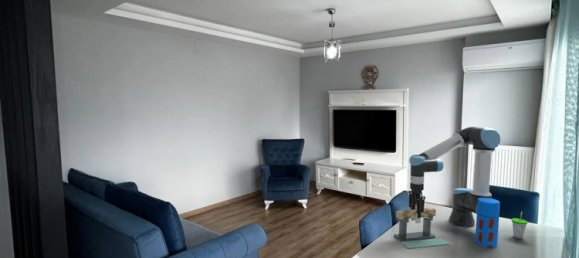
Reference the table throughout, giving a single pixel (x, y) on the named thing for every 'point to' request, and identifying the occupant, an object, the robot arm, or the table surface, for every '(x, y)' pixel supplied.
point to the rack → (416, 235)
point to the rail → (412, 213)
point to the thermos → (487, 222)
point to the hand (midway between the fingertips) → (415, 221)
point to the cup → (519, 227)
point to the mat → (424, 243)
